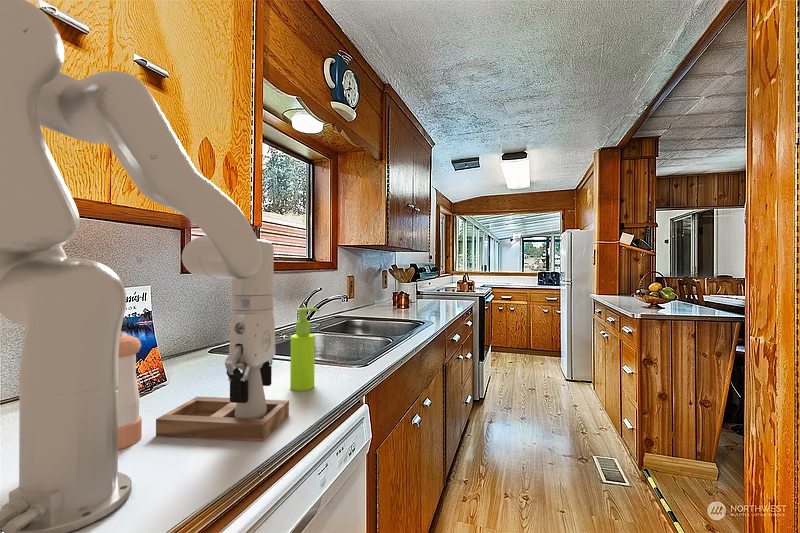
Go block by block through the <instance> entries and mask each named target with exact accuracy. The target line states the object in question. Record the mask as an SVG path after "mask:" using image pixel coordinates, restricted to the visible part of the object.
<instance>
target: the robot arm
mask: <svg viewBox="0 0 800 533" xmlns="http://www.w3.org/2000/svg"><path fill="white" fill-rule="evenodd" d="M64 60H65V49H64V44H63V41H62V37H61V34H60V32H59V30H58V28H57V27H56V25H55V23H53V21H52V20H51V18H50V17H48V15H47V14H46V13H45V12H44V11H43V10H41V9H40V8H39V7H37V6H36V5H34V3H31V1H30V2H29V1H28V0H0V315H1V316H3V317H4V318H5V319H7V321H11V322H13V323H14V324H17V325H20V326H23V327H26V331H25V338H24V341H23V345H22V350H21V354H20V355H21V356H20V361H19V374H18V376H19V377H18V396H19V401H18V402H19V404H18V405H19V406H18V407H19V411H18V418H19V420H18V422H19V424H18V428H19V429H18V430H19V431H18V432H19V433H18V435H19V436H18V438H19V439H18V442H19V443H18V456H19V457H18V478H19V479H18V487H17V488H14V489H13V490H11V491H9V492H8V502H7V503H5V504H4V505H3V506H2V507H1V509H0V530H2V532H4V533H70V532H72V531H76V530H78V529H81V528H83V527H86V526H88V525H90V524H91V525H92V524H93V523H95V522H97V521H98V520H99V521H100V520H101V519H104V517H106V516H108V515H109V514H111V513H112V512H114V511H115V510H117V509H118V508H119V507H121V506H122V505H123V504H124V502H126V500H127V499H128V498H129V496H130V495H131V492H132V488H133V486H132V484H133V482H132V479H131V477H130V476H129V475H127V474H125V473H123V472H119V471H118V470H119V468H118V467H119V464H118V462H119V461H118V460H119V456H118V455H119V450H118V352H119V340H120V333H121V332H122V329H123V328H122V326H123V322H124V318H125V312H126V306H127V294H126V289H125V285H124V283H123V281H122V280H121V278H120V277H119V276H118V274H117V273H116V272H115V271H114V270H112V268H110V267H108V266H107V265H105V264H103V263H101V262H98V261H95V260H92V259H88V258H81V257H80V258H79V257H68V256H67V254H66V252H65V250H64V248H63V246H64V245H66V244H67V243H69V241H71V240H72V239H73V238H74V237H75V236H76V235H77V232H78V231H79V228H80V214H79V210H78V208H77V206H76V203H75V201H74V198H73V197H72V195H71V192H70V190H69V189H68V186H67V185H66V183H65V180H64V178H63V176H62V175H61V172H60V171H59V167H58V166H57V163H56V161H55V160H54V157H53V155H52V153H51V152H50V149H49V147H48V145H47V142H46V139H45V136H44V134H43V131H42V129H41V127H42V128H43V127H44V128H46V129H48V130H51V131H54V132H56V133H59V134H61V135H64V136H66V137H70V138H73V139H75V140H79V141H81V142H86V143H90V144H99V145H100V144H101V145H102V144H106V145H107V146H108V147H109V149H110V150H111V151H112V153H113V155H114V156H115V157H116V159H117V160H118V162H119V163H120V165H121V166H122V167H123V169H124V170H125V172H126V173H127V174H128V176H129V178H130V179H131V181H132V182H133V183H134V185H135V186H136V189H137V190H138V191H139V192H140V193H141V194H142V195H143V196H144V197H145V198H146V199H147V198H148V199H149V200H151V201H153V202H154V203H156V204H158V205H160V206H162V207H165V208H168V209H170V210H172V211H174V212H176V213H178V214H180V215H182V216H184V217H186V218H187V219H188V220H189V221H191V222H192V223H194V224H195V225H196V226H197V227H198V228H199V229H200V230H201V231H202V232H203V233H204V234H205V235H203V236H200V237H196V238H194V239H192V240H190V241H189V242H188V243H187V244H186V245H185V246H184V248H183V250H182V254H181V262H182V264H183V266H184V267H185V269H186V271H188V272H189V273H190V274H192V275H193V276H196V277H199V278H203V279H209V280H210V279H212V280H214V279H216V280H221V279H224V280H226V279H227V280H231V283H230V284H231V286H230V287H231V290H230V291H231V294H230V296H231V297H230V299H231V300H230V302H231V304H230V306H231V309H230V313H231V314H232V317H231V322H230V323H231V324H230V332H229V345H228V346H229V351H228V352H229V354H228V356H227V357H226V359H225V360H224V365H225V368H226V375H227V376H228V379H227V380H228V382H229V398H230V402H231V403H246V402H248V380H246V378H247V375H248V372H249V369H250V366H251V367H253V368H256V367H258V366H260V365H262V364H263V365H262V368H260V373H261V378H262V384H263V387H270V386H271V385H272V371H273V370H272V368H273V367H272V365H273V358H274V357H275V355H276V329H275V319H274V318H275V317H274V262H275V261H274V254H275V251H274V250H275V249H274V246H273V244H272V242H271V241H269V240H266V239H258V237H257V234H256V232H255V231H254V229H253V227H252V225H251V224H250V222H249V220H248V218H247V217H246V216H245V214H244V212H243V211H242V210H241V208H240V207H239V206H238V205H237V204H236V203H235V202H234V201H233V200H232V199H231V198H230V197H229V196H228V195H227V194H225V193H224V192H223V191H222V190H221V189H220V188H219V187H217V186H216V185H215V184H214V183H212V181H211V180H209V179H207V178H206V177H204V176H203V175H202V174H201V173H200V172H199V171H198V170H197V169H196V167H195V165H194V164H193V163H192V161H191V159H190V157H189V155H188V154H187V152H186V150H185V149H184V147H183V146H182V144H181V142H180V140H179V139H178V137H177V135H176V133H175V132H174V130H173V129H172V127H171V125H170V123H169V121H168V119H167V118H166V116H165V114H164V113H163V112H162V109H161V108H160V106H159V105H158V103H157V101H156V100H155V97H154V96H153V95H152V93H151V92H150V90H149V88H148V87H147V86H146V85H145V84H144V83H143V82H142V81H141V80H140V79H139V78H138V77H136V76H135V75H133V74H131V73H129V72H125V71H119V70H107V71H100V72H97V73H93V74H91V75H88V76H85V77H84V78H81V79H80V80H79V79H78V78H74V77H72V76H69V75H67V74H65V73H62V72H61V70H62V68H63V65H64ZM239 362H245V363H239ZM239 368H242V369H243V370H241V369H239Z"/></svg>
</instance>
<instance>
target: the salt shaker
mask: <svg viewBox="0 0 800 533" xmlns="http://www.w3.org/2000/svg"><path fill="white" fill-rule="evenodd" d="M239 363H245V362H239ZM262 365H263V364H262ZM262 365H260V366H258V367H256V368H253V367H251V366H250V369H249V372H248V375H247V378H246V380H248V402H246V403H236V408H235V413H234V414H235V418H249V419H263V418H264V417H265V415H266V412H267V405H266V400H267V399H266V396H265V389H264V386H263V384H262V378H261V373H260V368H262ZM238 369H239V370H240V371H243V369H242V368H238ZM265 399H266V400H265Z"/></svg>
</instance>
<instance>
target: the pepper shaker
mask: <svg viewBox="0 0 800 533" xmlns="http://www.w3.org/2000/svg"><path fill="white" fill-rule="evenodd" d="M141 347H142V343H141V341H140V339H139V338H138V337H136V336H132V335H129V334H124V333H123V332H122V331H121V333H120V340H119V352H118V451H119V450H122V449H125V448H128V447H130V446H133V445H134V444H136V443H138V442H139V441H140V440H141V439H142V434H143V432H142V430H143V429H142V426H143V425H142V420H143V419H142V416H141V415H140V402H141V401H140V400H141V399H140V392H139V387H138V381H137V373H136V372H137V357H136V356H137V354H138V353H140V350H141Z"/></svg>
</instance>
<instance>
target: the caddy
mask: <svg viewBox="0 0 800 533" xmlns="http://www.w3.org/2000/svg"><path fill="white" fill-rule="evenodd" d="M265 400H266V405H267V412H266V415H265V417H264V418H263V419H249V418H235V414H234V413H235V408H236V403H231V402H230V397H219V396H217V397H216V396H214V397H213V396H196V397H194V398H192V399H190V400H188V401H187V402H185V403H183V404H181V405H179V406H177V407H176V408H173V409H172V410H170V411H169V412H166V413H165V414H162V415H161V416H159V417H158V418H156V419H155V436H156V437H171V438H187V439H191V438H192V439H207V440H224V441H225V440H226V441H246V442H259V443H260V442H261V443H263V442H264V441H265V440H266V439H267V438H268V437H269V436H270V435H271V434H272V433H273V432H274V431H275V430H276V429H277V428H278V427H279V426H280V424H282V423H283V422H284V421H285V420H286V419H287V418H288V417H289V416H290V400H288V399H287V400H283V399H282V400H281V399H266V398H265Z"/></svg>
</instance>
